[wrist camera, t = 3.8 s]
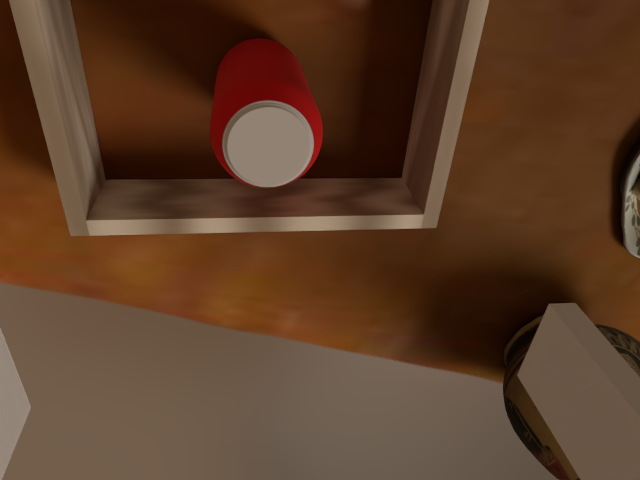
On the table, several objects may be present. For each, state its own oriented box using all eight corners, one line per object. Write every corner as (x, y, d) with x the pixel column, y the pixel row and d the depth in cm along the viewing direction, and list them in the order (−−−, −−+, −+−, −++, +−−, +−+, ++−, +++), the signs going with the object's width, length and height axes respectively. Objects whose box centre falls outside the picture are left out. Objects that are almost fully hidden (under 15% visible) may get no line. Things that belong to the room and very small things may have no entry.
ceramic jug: (608, 362, 60) (867, 679, 35) (486, 400, 61) (656, 735, 36) (615, 259, 50) (979, 598, 25) (470, 307, 51) (686, 678, 26)
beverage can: (213, 116, 36) (204, 195, 26) (219, 27, 33) (212, 78, 23) (295, 127, 37) (316, 205, 27) (309, 42, 34) (338, 96, 24)
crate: (459, -54, 32) (500, -47, 27) (412, 190, 42) (436, 227, 37) (31, -84, 28) (-13, -82, 23) (92, 193, 38) (70, 235, 33)
